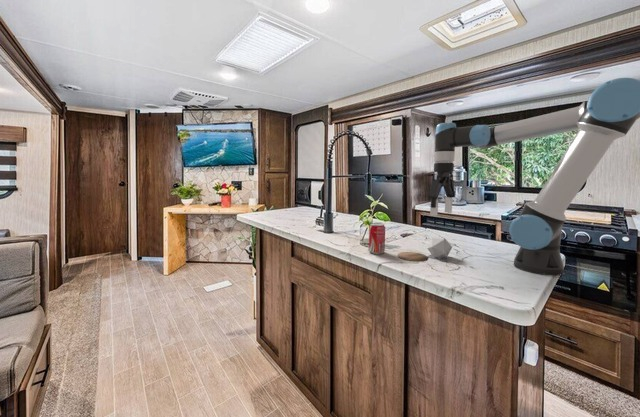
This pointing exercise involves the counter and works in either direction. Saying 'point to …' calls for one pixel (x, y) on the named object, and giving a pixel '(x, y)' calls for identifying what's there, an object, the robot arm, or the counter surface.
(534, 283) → the counter surface
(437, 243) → the die
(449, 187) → the robot arm
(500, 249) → the counter surface
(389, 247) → the counter surface
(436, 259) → the tile
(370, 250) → the soda can
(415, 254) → the coaster
